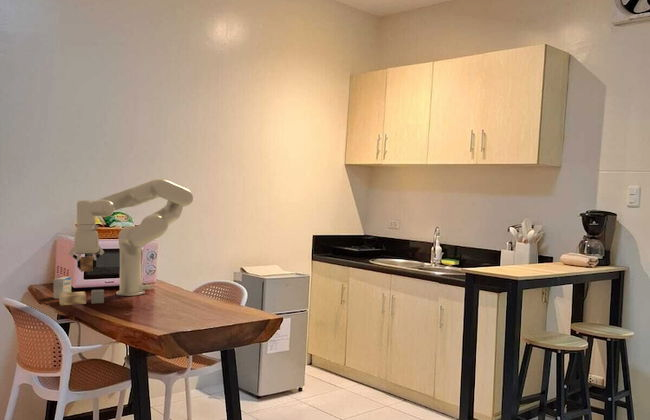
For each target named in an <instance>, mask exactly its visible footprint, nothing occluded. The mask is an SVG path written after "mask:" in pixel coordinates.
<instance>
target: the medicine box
mask: <svg viewBox="0 0 650 420" xmlns="http://www.w3.org/2000/svg"><path fill="white" fill-rule="evenodd" d="M67 292H72V277H71V276H62V277H58V278H57V277H56V278H54V279H53V299H59V293H67Z"/></svg>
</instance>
